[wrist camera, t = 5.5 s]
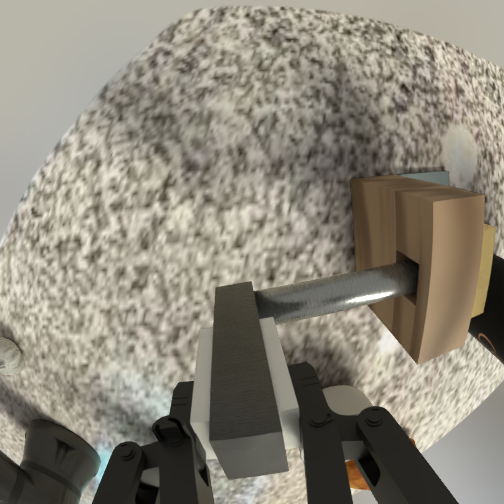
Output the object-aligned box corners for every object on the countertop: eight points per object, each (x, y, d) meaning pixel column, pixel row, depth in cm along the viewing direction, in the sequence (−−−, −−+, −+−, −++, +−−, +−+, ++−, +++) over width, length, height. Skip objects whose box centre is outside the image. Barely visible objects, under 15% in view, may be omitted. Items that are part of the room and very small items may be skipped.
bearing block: (355, 291, 31) (417, 364, 19) (349, 179, 27) (433, 201, 15) (395, 282, 31) (464, 344, 19) (393, 174, 27) (484, 195, 15)
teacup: (300, 373, 34) (316, 421, 26) (375, 371, 35) (400, 412, 28) (276, 439, 38) (284, 481, 30) (341, 435, 39) (356, 473, 32)
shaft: (224, 325, 21) (228, 479, 9) (215, 287, 20) (209, 441, 8) (459, 270, 21) (559, 339, 10) (462, 238, 20) (573, 297, 9)
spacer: (425, 283, 25) (470, 318, 18) (427, 209, 22) (482, 230, 16) (437, 279, 25) (483, 312, 18) (440, 208, 22) (495, 227, 16)
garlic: (26, 340, 30) (8, 362, 25) (31, 369, 31) (15, 391, 26) (-4, 325, 29) (-23, 344, 24) (1, 353, 30) (-15, 373, 25)
